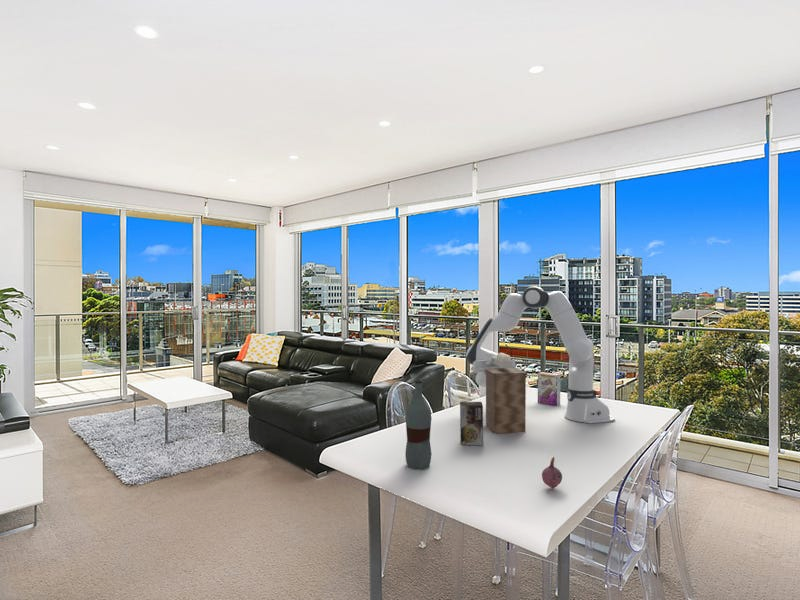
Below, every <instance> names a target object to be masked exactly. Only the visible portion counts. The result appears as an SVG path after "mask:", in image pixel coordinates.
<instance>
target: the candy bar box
mask: <svg viewBox="0 0 800 600" xmlns="http://www.w3.org/2000/svg"><path fill="white" fill-rule="evenodd" d="M561 377H562V376H561V374H559V373H551V372H543V371H541V372H538V373H537V403H539V402H540V403H541V404H545V403H546V405H551V404H552V405H553V406H559V405H561ZM558 404H559V405H558ZM552 405H551V406H552Z"/></svg>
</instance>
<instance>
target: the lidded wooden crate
mask: <svg viewBox="0 0 800 600" xmlns="http://www.w3.org/2000/svg"><path fill="white" fill-rule="evenodd" d="M485 371H486V387H485V426H486V428H488V430H490V431H491V432H492V433H493V434H494V433H496V434H518V433H517V432H524V433H526V415H527V413H526V411H527V410H526V401H527V400H526V399H527V397H526V394H527V393H526V391H527V388H526V382H527V381H526V379H527V376H528V372H526V371H524V370H522V369H519V368H517V367H515V368H491V369H485Z"/></svg>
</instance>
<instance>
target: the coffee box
mask: <svg viewBox="0 0 800 600" xmlns="http://www.w3.org/2000/svg"><path fill="white" fill-rule="evenodd" d="M459 427H460V428H459V431H460V434H459V438H460V439H459V441H460V442H459V443H460V445H461V446H484V406H483V403H482V401H459Z"/></svg>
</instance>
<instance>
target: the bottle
mask: <svg viewBox="0 0 800 600" xmlns="http://www.w3.org/2000/svg"><path fill="white" fill-rule="evenodd" d="M404 418H405V427H406V429H405V430H406V445H405V462H406V466H407V467H408V468H409V469H411V468H412V469H411V470H417V469H421V470H426V469H428V468H429V467H430V465H431V462H432V447H431V441H430V440H431V428H432V427H431V426H432V411H431V408H430V406H429V404H428V402H427V401H426V399H425V398H424V396H423V380H422V379H415V380H414V396H413V398H411V401H410V402H409V404H408V405H407V407H406V412H405V417H404ZM427 467H428V468H427ZM425 468H426V469H425Z"/></svg>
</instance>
